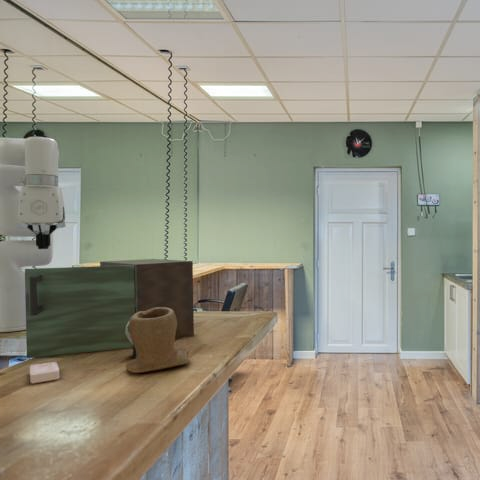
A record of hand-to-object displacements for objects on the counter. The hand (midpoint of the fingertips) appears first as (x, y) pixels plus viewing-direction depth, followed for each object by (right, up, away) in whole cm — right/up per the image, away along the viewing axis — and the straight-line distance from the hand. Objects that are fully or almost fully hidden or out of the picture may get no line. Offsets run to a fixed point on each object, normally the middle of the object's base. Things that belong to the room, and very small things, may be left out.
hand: (43, 248), depth 127 cm
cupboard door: (+11, -29, -1) cm, 31 cm away
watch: (+29, -29, -3) cm, 41 cm away
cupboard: (+18, -29, +23) cm, 41 cm away
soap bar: (+14, -30, -20) cm, 39 cm away
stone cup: (+39, -30, -15) cm, 51 cm away
